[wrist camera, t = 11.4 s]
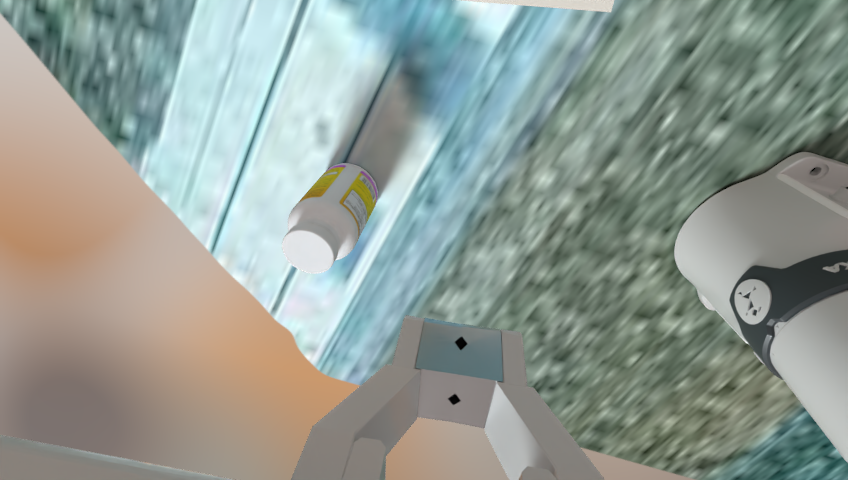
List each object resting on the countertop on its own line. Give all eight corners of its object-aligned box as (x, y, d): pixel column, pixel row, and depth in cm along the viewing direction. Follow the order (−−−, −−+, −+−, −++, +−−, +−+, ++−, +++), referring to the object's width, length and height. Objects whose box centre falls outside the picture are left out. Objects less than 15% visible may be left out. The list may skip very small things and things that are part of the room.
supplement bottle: (317, 200, 45) (264, 265, 34) (330, 151, 41) (276, 206, 31) (369, 222, 46) (334, 292, 35) (387, 176, 42) (353, 238, 31)
